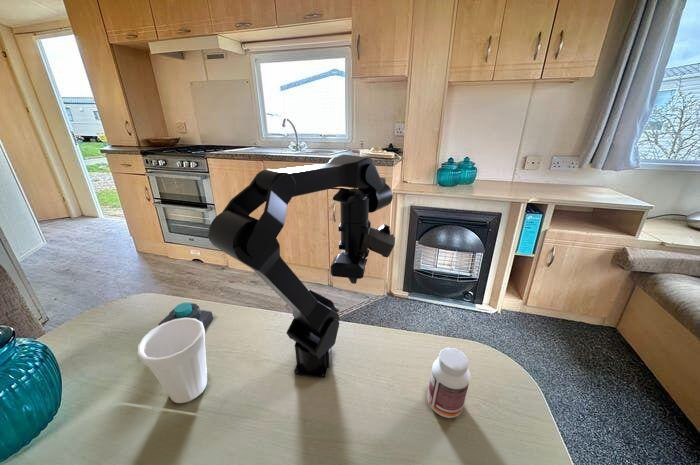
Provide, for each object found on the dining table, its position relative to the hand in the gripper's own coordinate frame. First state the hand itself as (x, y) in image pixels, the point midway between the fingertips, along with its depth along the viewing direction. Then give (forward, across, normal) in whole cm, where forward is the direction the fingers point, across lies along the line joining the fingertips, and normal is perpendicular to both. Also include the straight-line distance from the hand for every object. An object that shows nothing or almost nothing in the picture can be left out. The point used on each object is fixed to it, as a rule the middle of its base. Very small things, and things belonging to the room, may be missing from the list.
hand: (353, 282), depth 63 cm
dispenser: (+13, -6, +41) cm, 43 cm away
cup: (+13, -22, +28) cm, 38 cm away
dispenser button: (+9, -6, +41) cm, 42 cm away
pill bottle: (+13, -16, -19) cm, 28 cm away
